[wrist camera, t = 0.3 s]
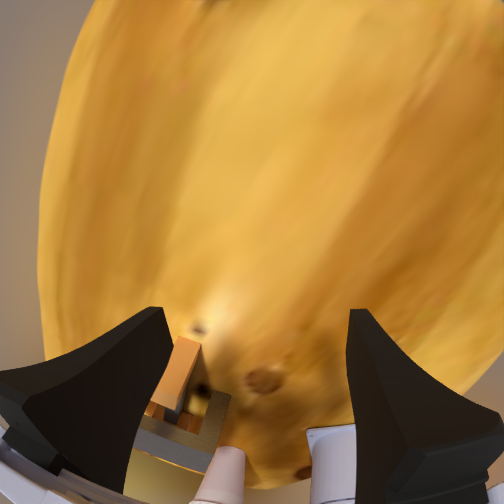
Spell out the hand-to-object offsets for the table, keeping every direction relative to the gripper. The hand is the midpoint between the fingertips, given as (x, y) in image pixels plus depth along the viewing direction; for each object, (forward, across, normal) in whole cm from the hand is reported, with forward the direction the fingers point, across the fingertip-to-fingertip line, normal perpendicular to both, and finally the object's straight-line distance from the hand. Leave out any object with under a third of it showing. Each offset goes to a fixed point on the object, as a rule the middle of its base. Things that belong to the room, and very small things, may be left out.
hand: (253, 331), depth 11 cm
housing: (+10, +11, +16) cm, 22 cm away
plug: (+10, +10, +16) cm, 21 cm away
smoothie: (+10, +7, +28) cm, 31 cm away
